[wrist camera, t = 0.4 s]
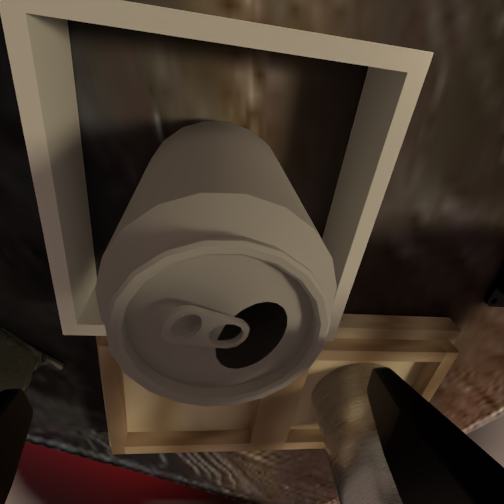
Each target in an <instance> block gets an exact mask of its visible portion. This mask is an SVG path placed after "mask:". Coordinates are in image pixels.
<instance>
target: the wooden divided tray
mask: <svg viewBox="0 0 504 504" xmlns="http://www.w3.org/2000/svg"><path fill="white" fill-rule="evenodd" d="M460 333H461V330H460V329H459V328H458V327H457V325H456V324H455V323H454V322H453V321H452V320H451V319H450V318H449V317H421V316H393V315H365V314H342V317H341V320H340V323H339V326H338V329H337V332H336V334H335V337H334V340H333V341H326V343H325V346H324V348H323V349H322V351H321V352H320V354H319V355H318V357H317V358H316V360H315V361H314V363H313V364H312V366H311V367H310V368H309V369H308V370H306V371H305V372H304V373H303V374H302V375H300V376H299V377H298V378H297V379H295V380H294V381H293V382H292V383H291V384H289V385H288V386H286V387H284V388H282V389H280V390H278V391H276V392H274V393H272V394H270V395H268V396H266V397H264V398H261V399H257V400H253V401H249V402H245V403H241V404H237V405H226V406H198V405H192V404H185V403H179V402H175V401H172V400H170V399H167V398H164V397H162V396H159V395H157V394H154V393H152V392H149V391H148V390H146V389H145V388H144V387H142V386H141V385H139V384H138V383H137V382H135V381H134V380H133V379H131V378H130V377H129V376H127V375H126V374H125V373H124V371H123V370H122V369H121V367H120V366H119V364H118V363H117V361H116V360H115V358H114V357H113V356H112V354H111V353H110V350H109V345H108V340H107V336H96V343H97V350H98V358H99V366H100V373H101V381H102V389H103V396H104V404H105V412H106V419H107V427H108V435H109V442H110V447H111V450H112V454H141V453H176V452H212V451H247V450H283V449H319V448H324V444H323V441H322V437H321V433H320V430H319V426H318V423H317V419H316V415H315V412H314V408H313V405H312V400H311V396H312V392H313V389H314V388H315V386H316V384H317V383H318V382H319V381H320V380H321V379H322V378H323V377H324V376H326V375H327V374H329V373H330V372H332V371H334V370H336V369H338V368H340V367H343V366H346V365H350V364H354V363H375V364H379V365H382V366H384V367H388V368H390V369H392V370H393V371H394V372H395V373H396V374H397V375H399V376H400V377H401V378H402V379H403V380H404V381H405V382H407V383H408V384H409V385H410V386H411V387H412V388H413V389H414V390H416V391H417V392H418V393H419V394H420V395H421V396H422V397H424V398H425V399H426V400H427V401H428V402H429V401H430V399H431V398H432V396H433V395H434V393H435V391H436V390H437V388H438V386H439V385H440V383H441V382H442V380H443V378H444V377H445V375H446V374H447V372H448V370H449V369H450V367H451V365H452V364H453V362H454V361H455V359H456V357H457V356H458V354H459V352H458V350H457V349H456V348H455V347H454V345H453V344H454V343H455V341H456V339H457V338H458V336H459V334H460Z"/></svg>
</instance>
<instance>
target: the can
mask: <svg viewBox="0 0 504 504" xmlns="http://www.w3.org/2000/svg"><path fill="white" fill-rule="evenodd" d="M336 289H337V285H336V278H335V272H334V265H333V258H332V256H331V255H330V253H329V251H328V249H327V248H326V246H325V244H324V242H323V240H322V239H321V237H320V235H319V233H318V231H317V230H316V228H315V226H314V224H313V222H312V221H311V219H310V217H309V215H308V214H307V212H306V210H305V208H304V206H303V205H302V203H301V201H300V199H299V197H298V196H297V194H296V192H295V190H294V188H293V187H292V185H291V183H290V181H289V179H288V178H287V176H286V174H285V172H284V171H283V169H282V167H281V165H280V163H279V162H278V160H277V158H276V157H275V155H274V153H273V152H272V150H271V148H270V147H269V145H268V144H267V143H265V142H264V141H263V140H262V139H261V138H259V137H258V136H257V135H256V134H255V133H254V132H252V131H251V130H248V129H246V128H243V127H241V126H238V125H236V124H233V123H231V122H221V121H203V122H199V123H196V124H192V125H189V126H185V127H182V128H181V129H179V130H178V131H177V132H175V133H174V134H172V135H171V136H170V137H168V138H167V139H165V140H164V141H163V142H162V144H161V145H160V147H159V148H158V150H157V151H156V152H155V154H154V155H153V157H152V158H151V160H150V162H149V164H148V166H147V168H146V170H145V172H144V174H143V176H142V178H141V180H140V182H139V184H138V186H137V188H136V190H135V192H134V194H133V196H132V198H131V200H130V202H129V204H128V206H127V208H126V210H125V212H124V214H123V216H122V218H121V220H120V222H119V224H118V226H117V228H116V230H115V232H114V234H113V236H112V238H111V240H110V242H109V244H108V246H107V248H106V250H105V252H104V254H103V256H102V259H101V264H100V269H99V273H98V278H97V282H96V287H95V292H96V297H97V302H98V307H99V312H100V317H101V320H102V322H103V323H104V325H105V330H106V335H107V340H108V345H109V350H110V353H111V354H112V356H113V357H114V358H115V360H116V361H117V363H118V364H119V366H120V367H121V369H122V370H123V371H124V373H125V374H126V375H127V376H129V377H130V378H131V379H133V380H134V381H135V382H137V383H138V384H139V385H141V386H142V387H144V388H145V389H146V390H148V391H149V392H152V393H154V394H157V395H159V396H162V397H164V398H167V399H170V400H172V401H175V402H179V403H185V404H192V405H198V406H226V405H237V404H241V403H245V402H249V401H253V400H257V399H261V398H264V397H266V396H268V395H270V394H272V393H274V392H276V391H278V390H280V389H282V388H284V387H286V386H288V385H289V384H291V383H292V382H293V381H294V380H295V379H297V378H298V377H299V376H300V375H302V374H303V373H304V372H305V371H306V370H308V369H309V368H310V367H311V366H312V364H313V363H314V361H315V360H316V358H317V357H318V355H319V354H320V352H321V351H322V349H323V348H324V346H325V343H326V339H327V335H328V331H329V327H330V323H331V318H330V314H331V310H332V306H333V302H334V298H335V293H336Z"/></svg>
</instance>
